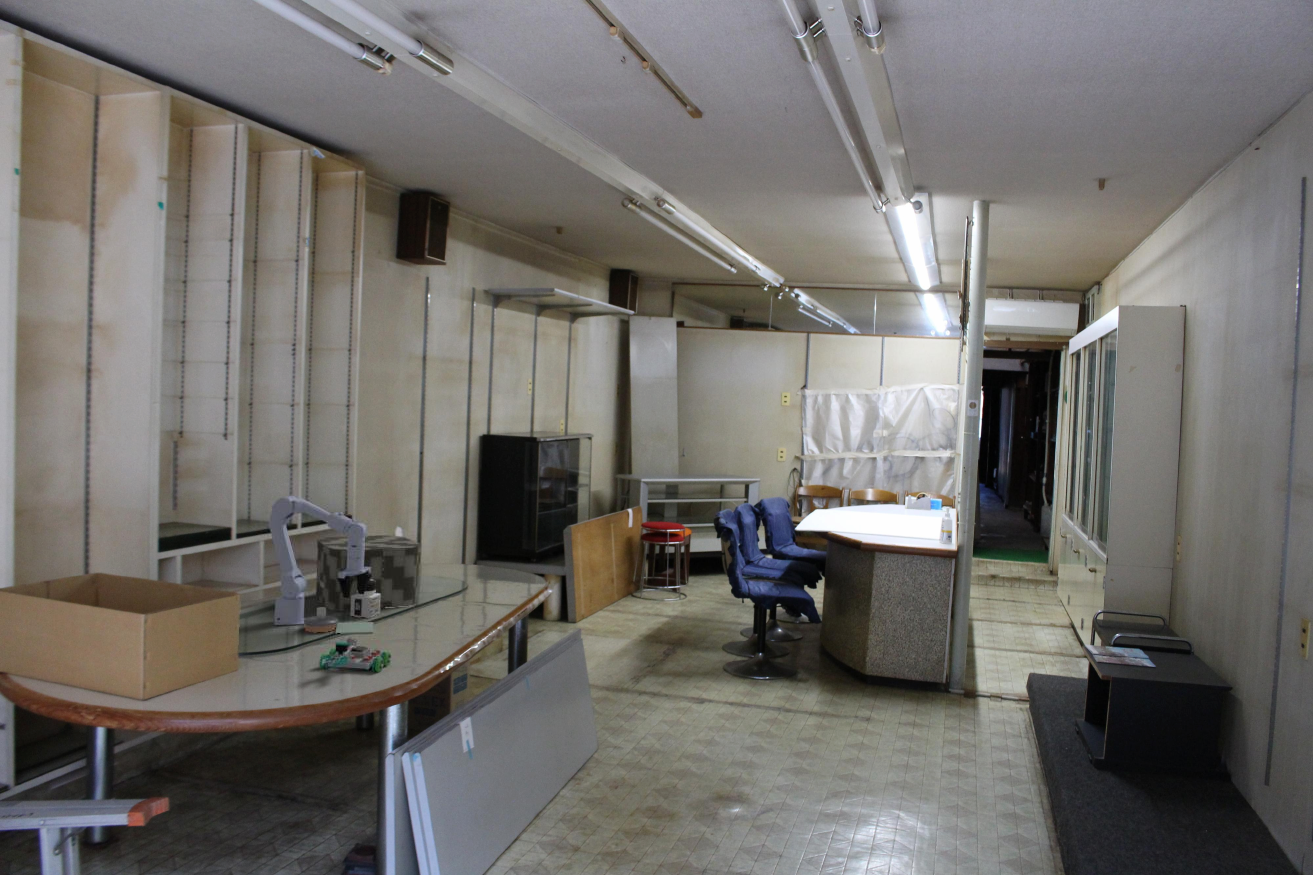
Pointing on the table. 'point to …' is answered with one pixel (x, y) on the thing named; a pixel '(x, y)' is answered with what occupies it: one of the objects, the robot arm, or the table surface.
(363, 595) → the container
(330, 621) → the lid
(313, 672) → the table surface
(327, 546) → the storage box
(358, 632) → the mat
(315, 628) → the bowl
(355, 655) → the robot kit
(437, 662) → the table surface
